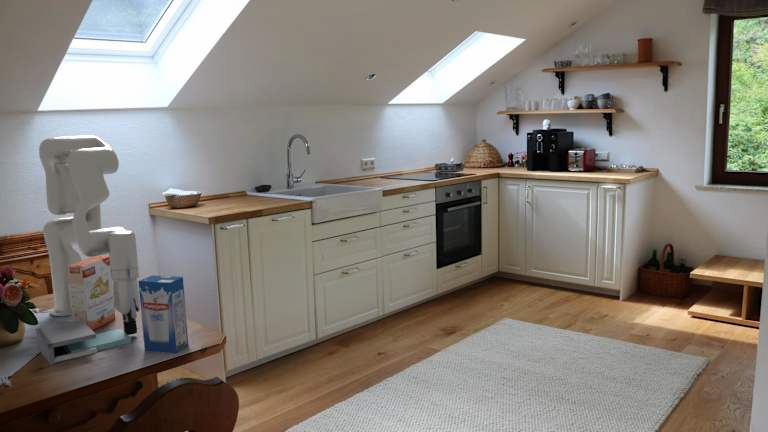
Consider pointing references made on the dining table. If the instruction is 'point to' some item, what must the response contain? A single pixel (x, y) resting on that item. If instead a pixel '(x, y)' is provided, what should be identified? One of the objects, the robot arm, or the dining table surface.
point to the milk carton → (163, 314)
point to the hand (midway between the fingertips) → (130, 333)
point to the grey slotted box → (63, 339)
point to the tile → (100, 341)
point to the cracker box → (91, 291)
